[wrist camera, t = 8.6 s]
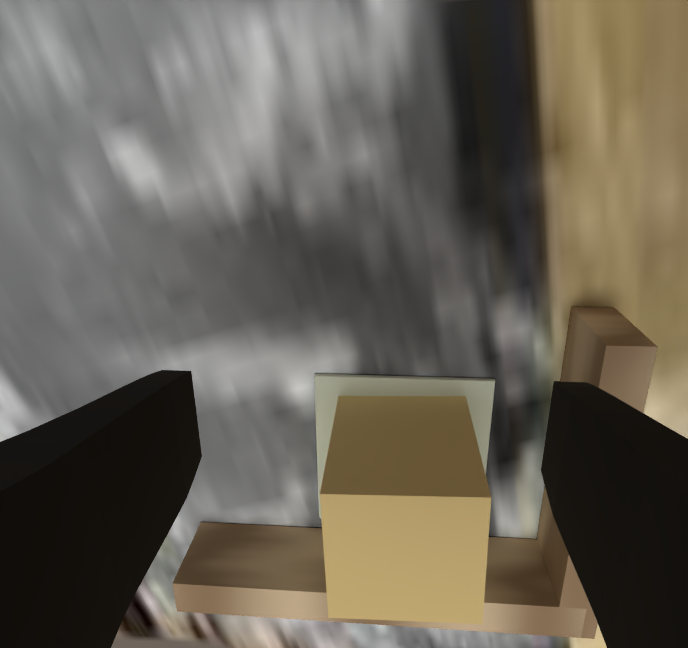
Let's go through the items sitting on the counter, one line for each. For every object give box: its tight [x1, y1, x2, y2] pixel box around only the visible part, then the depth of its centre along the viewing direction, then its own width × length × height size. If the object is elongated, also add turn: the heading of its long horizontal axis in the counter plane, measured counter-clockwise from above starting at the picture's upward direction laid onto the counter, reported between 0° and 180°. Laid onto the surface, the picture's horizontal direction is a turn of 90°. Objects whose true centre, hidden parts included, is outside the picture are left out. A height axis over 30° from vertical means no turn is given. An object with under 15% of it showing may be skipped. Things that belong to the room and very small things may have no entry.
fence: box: [173, 307, 657, 639], centre depth 21 cm, size 16×12×4 cm
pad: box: [314, 374, 495, 518], centre depth 23 cm, size 7×7×1 cm
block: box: [320, 396, 491, 624], centre depth 20 cm, size 5×5×6 cm
